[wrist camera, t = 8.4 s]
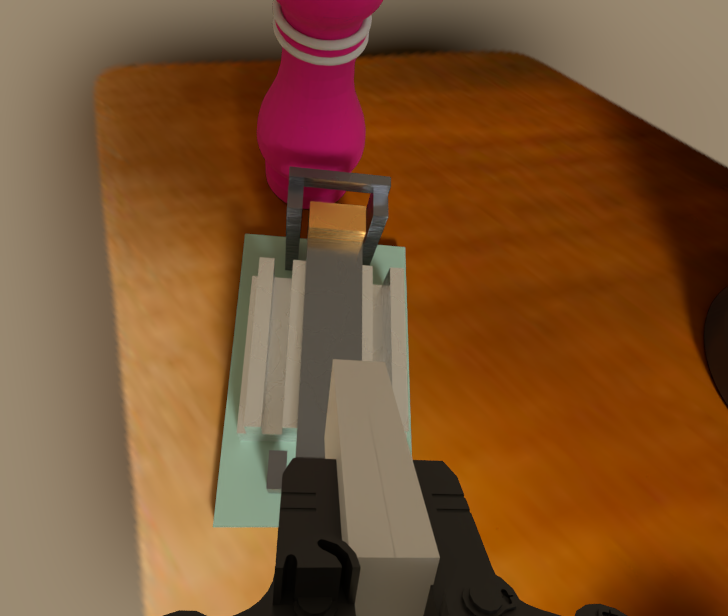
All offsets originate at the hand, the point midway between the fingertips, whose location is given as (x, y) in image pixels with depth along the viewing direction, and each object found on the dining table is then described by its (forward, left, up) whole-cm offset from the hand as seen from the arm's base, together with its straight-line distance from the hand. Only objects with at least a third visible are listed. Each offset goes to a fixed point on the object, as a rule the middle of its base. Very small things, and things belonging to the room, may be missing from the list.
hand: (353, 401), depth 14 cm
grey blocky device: (0, -6, -15) cm, 16 cm away
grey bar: (0, -5, -10) cm, 12 cm away
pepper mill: (+1, -20, -17) cm, 26 cm away
